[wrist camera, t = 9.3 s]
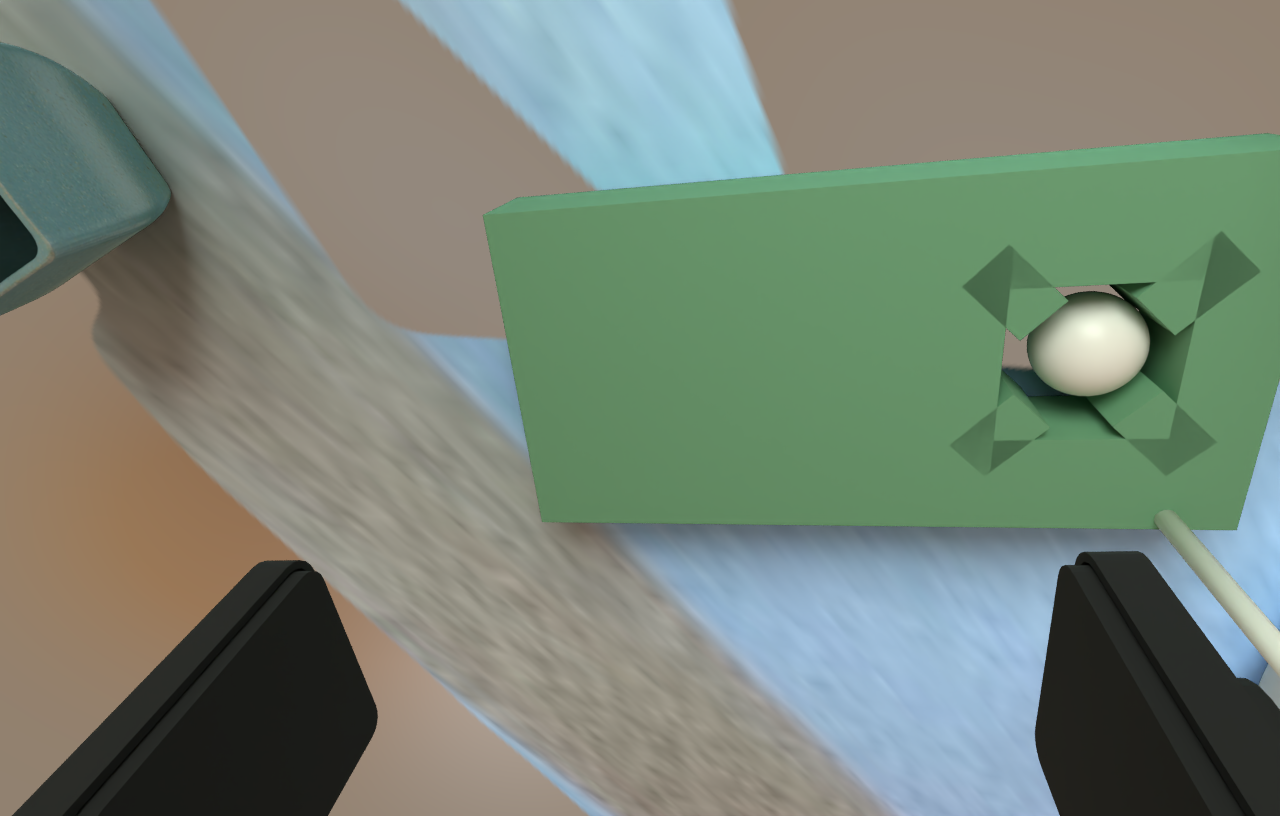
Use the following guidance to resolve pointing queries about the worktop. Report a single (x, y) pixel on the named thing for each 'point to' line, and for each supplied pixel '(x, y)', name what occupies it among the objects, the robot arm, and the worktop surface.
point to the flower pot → (64, 177)
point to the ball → (1089, 344)
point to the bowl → (1271, 684)
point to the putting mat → (902, 345)
